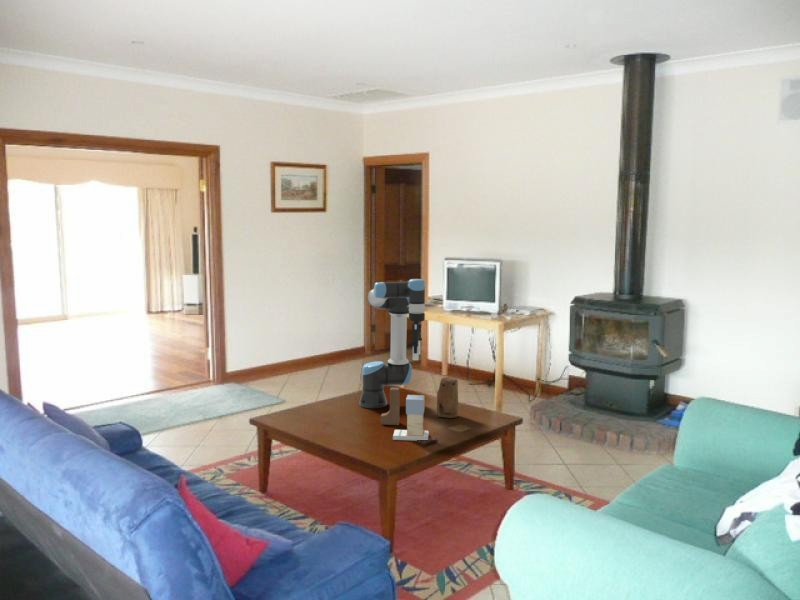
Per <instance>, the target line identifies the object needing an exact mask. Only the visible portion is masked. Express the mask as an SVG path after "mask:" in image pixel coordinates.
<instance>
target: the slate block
mask: <svg viewBox="0 0 800 600" xmlns="http://www.w3.org/2000/svg"><path fill="white" fill-rule="evenodd" d="M425 400H426V399H425V394H424V395H422V394H420V395H419V394H407V395H406V398H405V414H406V415H407V414H417V415H423V416H424V413H425V403H426V402H425Z"/></svg>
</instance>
